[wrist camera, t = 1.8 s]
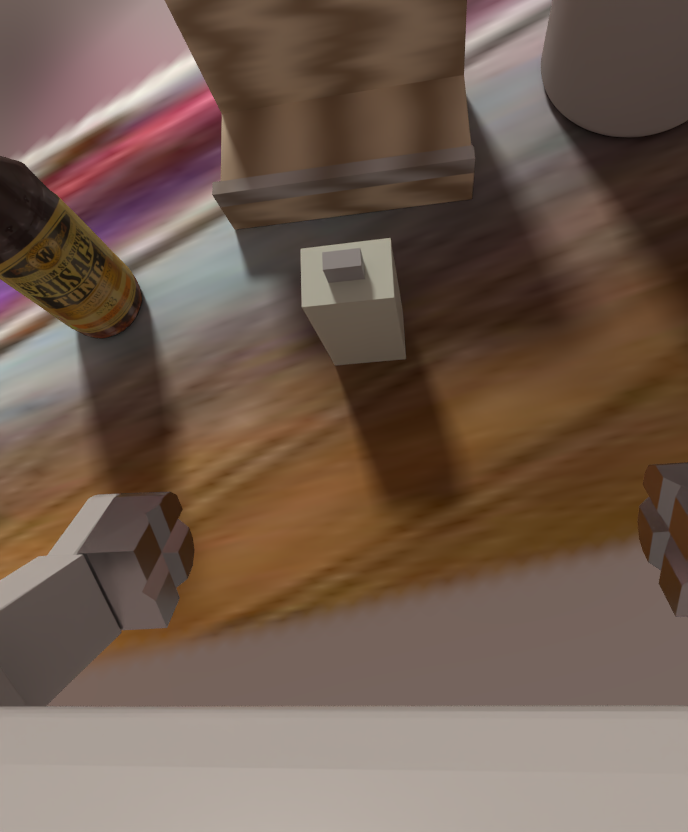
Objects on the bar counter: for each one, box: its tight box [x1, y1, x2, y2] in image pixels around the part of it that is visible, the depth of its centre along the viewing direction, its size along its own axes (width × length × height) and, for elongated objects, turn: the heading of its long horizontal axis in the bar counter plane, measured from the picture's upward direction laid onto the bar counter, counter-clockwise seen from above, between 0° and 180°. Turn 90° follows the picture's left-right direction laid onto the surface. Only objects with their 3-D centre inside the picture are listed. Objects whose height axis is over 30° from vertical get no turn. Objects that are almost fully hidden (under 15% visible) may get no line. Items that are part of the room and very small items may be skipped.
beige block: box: [301, 238, 406, 365], centre depth 35 cm, size 5×4×12 cm
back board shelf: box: [165, 0, 475, 230], centre depth 35 cm, size 18×10×20 cm, turn 92°
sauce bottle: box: [0, 156, 142, 338], centre depth 36 cm, size 7×6×20 cm
